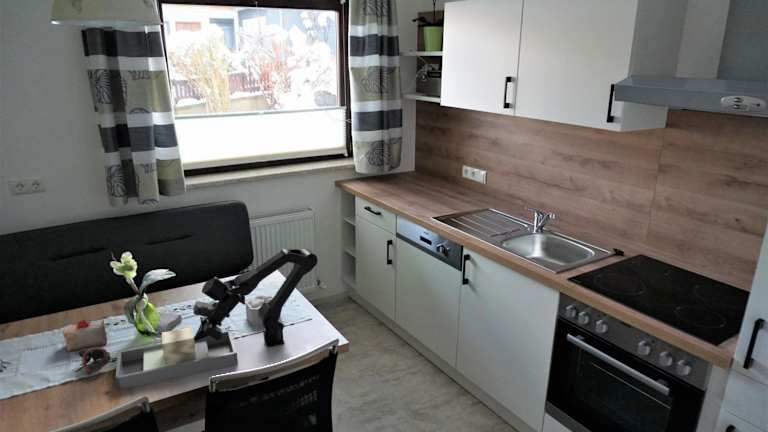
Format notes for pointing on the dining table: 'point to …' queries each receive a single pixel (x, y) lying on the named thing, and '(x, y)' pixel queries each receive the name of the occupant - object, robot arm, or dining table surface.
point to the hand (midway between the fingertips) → (194, 340)
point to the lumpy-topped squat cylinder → (255, 308)
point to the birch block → (178, 345)
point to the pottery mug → (94, 358)
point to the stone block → (168, 321)
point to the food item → (85, 335)
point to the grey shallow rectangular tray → (151, 367)
